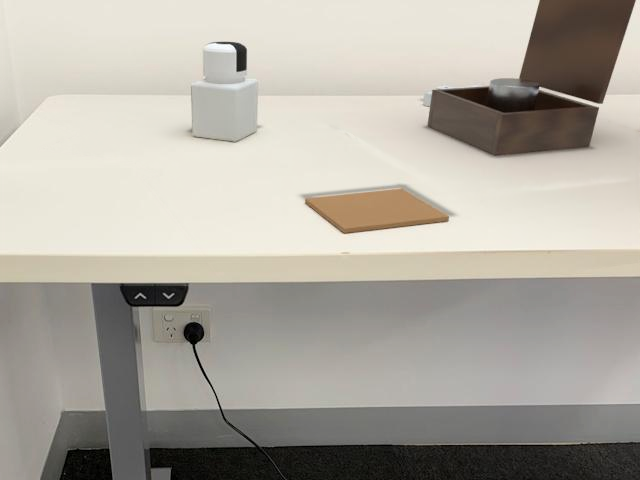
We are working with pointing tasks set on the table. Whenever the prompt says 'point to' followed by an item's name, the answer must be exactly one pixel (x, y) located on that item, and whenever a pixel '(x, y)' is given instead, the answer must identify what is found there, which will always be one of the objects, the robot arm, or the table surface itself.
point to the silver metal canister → (512, 95)
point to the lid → (576, 45)
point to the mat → (375, 210)
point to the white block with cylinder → (224, 94)
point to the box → (512, 122)
